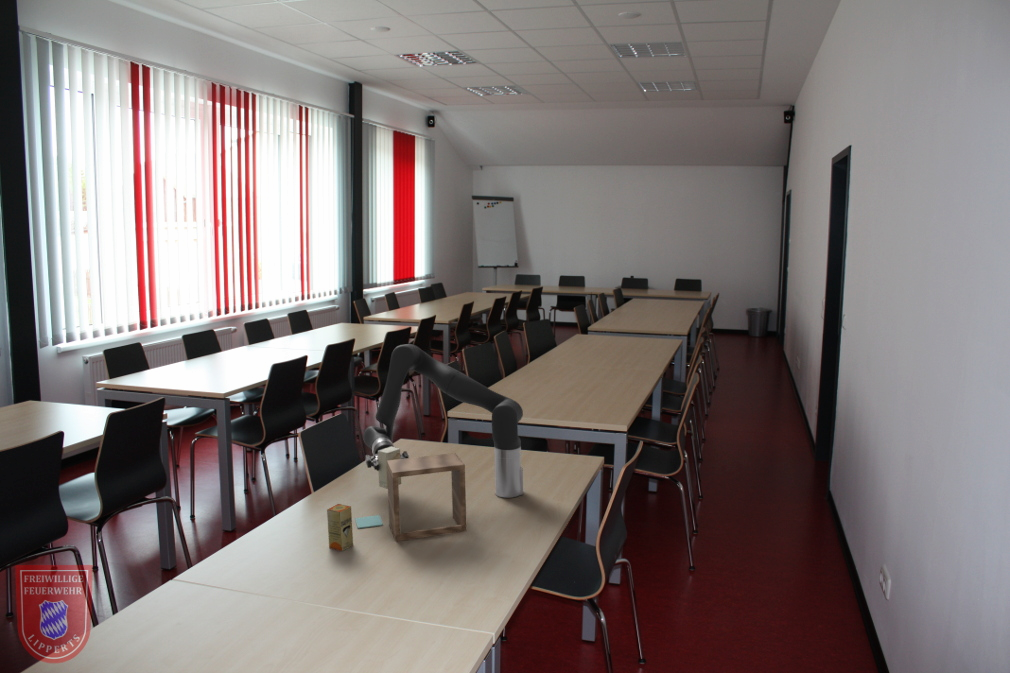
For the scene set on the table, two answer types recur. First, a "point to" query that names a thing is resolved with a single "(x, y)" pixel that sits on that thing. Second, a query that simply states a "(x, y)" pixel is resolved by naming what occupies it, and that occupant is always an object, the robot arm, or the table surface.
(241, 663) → the table surface
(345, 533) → the shoe polish box
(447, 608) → the table surface
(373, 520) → the mat
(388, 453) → the skincare box
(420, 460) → the wooden square frame
